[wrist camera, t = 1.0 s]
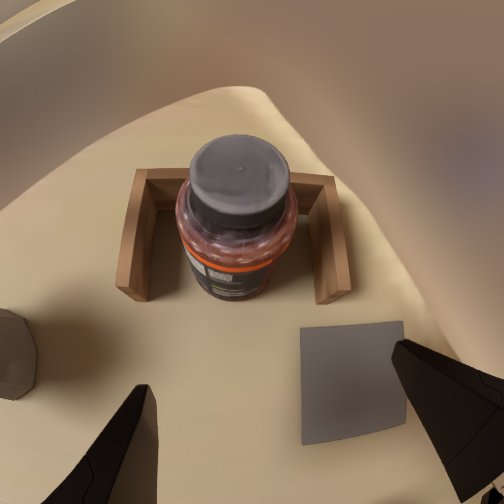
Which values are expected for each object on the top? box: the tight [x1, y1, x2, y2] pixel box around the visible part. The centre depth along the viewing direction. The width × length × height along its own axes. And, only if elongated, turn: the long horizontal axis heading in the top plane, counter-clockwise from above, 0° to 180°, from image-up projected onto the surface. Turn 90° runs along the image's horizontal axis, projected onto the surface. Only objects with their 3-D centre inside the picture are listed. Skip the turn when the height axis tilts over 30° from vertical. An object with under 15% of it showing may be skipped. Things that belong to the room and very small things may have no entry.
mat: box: [300, 321, 406, 445], centre depth 21 cm, size 10×10×1 cm
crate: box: [115, 168, 351, 305], centre depth 22 cm, size 10×16×5 cm, turn 91°
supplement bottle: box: [175, 134, 298, 301], centre depth 18 cm, size 7×7×13 cm
